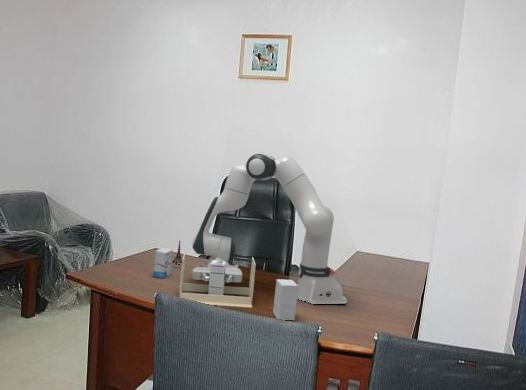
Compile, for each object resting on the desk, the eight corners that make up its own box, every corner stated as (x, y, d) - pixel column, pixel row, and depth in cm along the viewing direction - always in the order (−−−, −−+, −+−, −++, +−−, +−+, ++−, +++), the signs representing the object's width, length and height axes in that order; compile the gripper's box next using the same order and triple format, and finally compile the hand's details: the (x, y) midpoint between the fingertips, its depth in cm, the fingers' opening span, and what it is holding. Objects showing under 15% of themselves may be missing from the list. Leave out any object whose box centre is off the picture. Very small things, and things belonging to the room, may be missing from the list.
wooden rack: (249, 292, 197) (252, 255, 196) (252, 308, 178) (256, 266, 177) (181, 288, 194) (185, 250, 193) (178, 303, 176) (181, 261, 174)
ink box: (163, 278, 205) (165, 252, 204) (152, 277, 206) (154, 250, 205) (171, 274, 213) (173, 248, 212) (160, 272, 214) (162, 247, 213)
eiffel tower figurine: (174, 260, 242) (176, 234, 241) (192, 263, 239) (194, 237, 238) (160, 266, 227) (163, 239, 226) (180, 269, 225) (182, 242, 224)
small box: (294, 321, 169) (298, 285, 168) (277, 320, 168) (281, 285, 166) (288, 313, 177) (292, 279, 176) (272, 312, 175) (276, 278, 174)
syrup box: (222, 300, 184) (225, 264, 182) (207, 299, 184) (210, 262, 182) (223, 296, 189) (227, 261, 188) (209, 294, 189) (212, 259, 188)
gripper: (193, 261, 197) (191, 270, 183) (241, 265, 199) (243, 274, 185) (191, 276, 197) (190, 286, 184) (240, 280, 199) (242, 289, 186)
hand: (217, 280), depth 184 cm, fingers open, 7 cm apart
